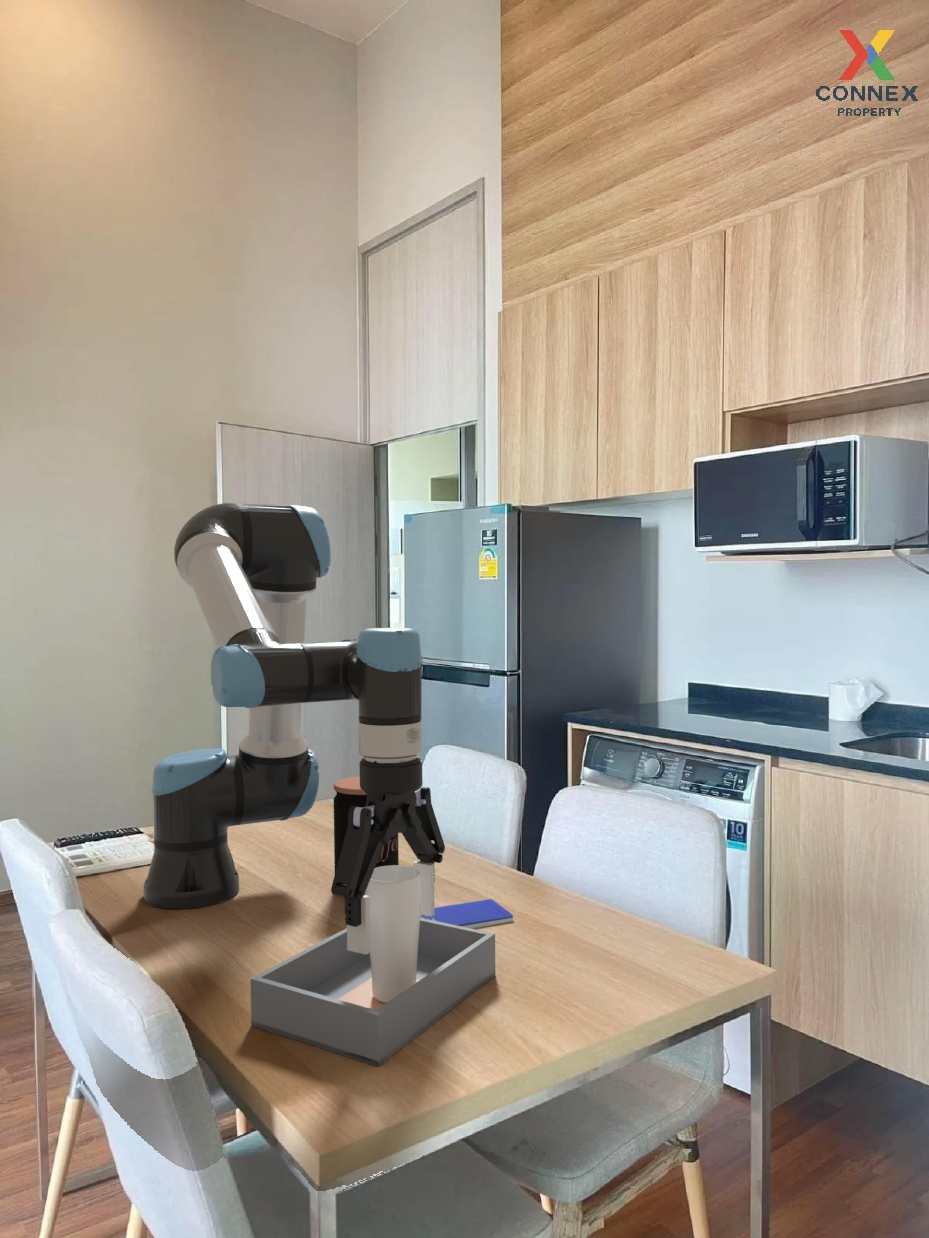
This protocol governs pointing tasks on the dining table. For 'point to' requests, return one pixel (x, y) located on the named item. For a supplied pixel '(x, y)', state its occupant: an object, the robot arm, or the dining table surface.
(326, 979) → the walled box
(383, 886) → the drinking glass
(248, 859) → the dining table surface
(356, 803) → the coffee jar
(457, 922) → the hard drive
